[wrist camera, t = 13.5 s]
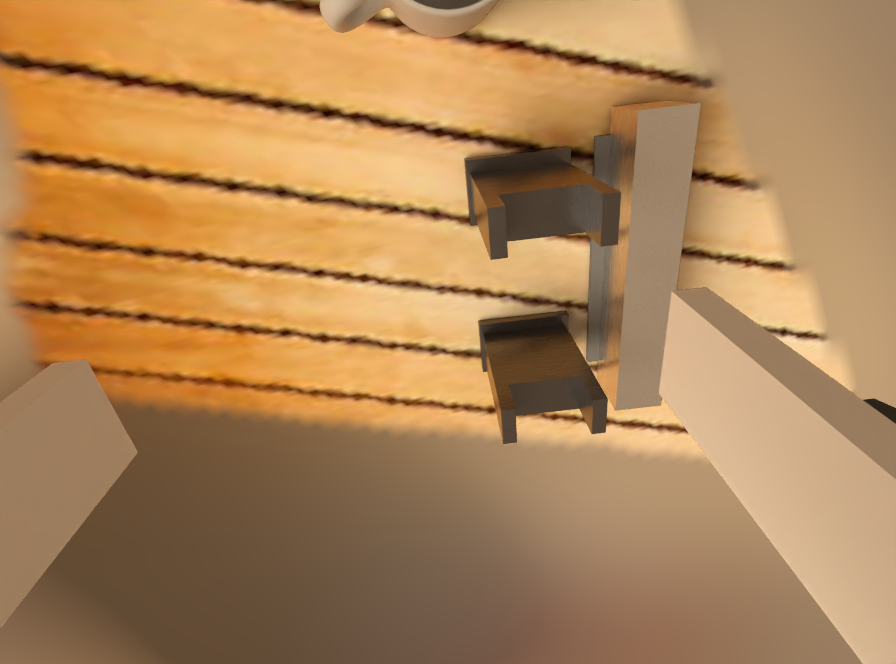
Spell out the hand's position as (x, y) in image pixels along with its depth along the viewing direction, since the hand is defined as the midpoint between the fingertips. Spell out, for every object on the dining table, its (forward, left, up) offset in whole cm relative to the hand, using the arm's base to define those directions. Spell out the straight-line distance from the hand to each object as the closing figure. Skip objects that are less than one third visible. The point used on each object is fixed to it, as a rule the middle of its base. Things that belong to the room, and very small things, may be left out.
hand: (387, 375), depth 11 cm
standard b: (+16, +8, -29) cm, 34 cm away
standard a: (+2, +8, -29) cm, 30 cm away
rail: (+9, +17, -28) cm, 34 cm away
